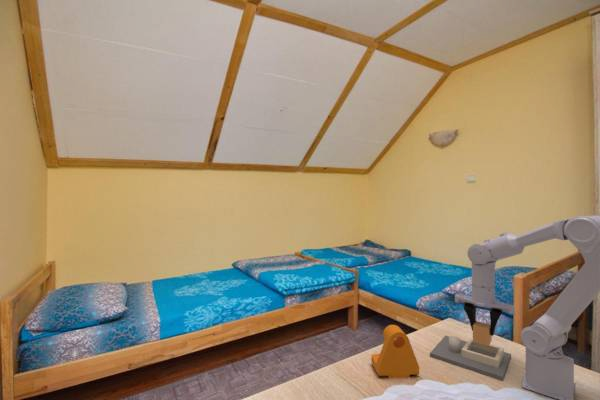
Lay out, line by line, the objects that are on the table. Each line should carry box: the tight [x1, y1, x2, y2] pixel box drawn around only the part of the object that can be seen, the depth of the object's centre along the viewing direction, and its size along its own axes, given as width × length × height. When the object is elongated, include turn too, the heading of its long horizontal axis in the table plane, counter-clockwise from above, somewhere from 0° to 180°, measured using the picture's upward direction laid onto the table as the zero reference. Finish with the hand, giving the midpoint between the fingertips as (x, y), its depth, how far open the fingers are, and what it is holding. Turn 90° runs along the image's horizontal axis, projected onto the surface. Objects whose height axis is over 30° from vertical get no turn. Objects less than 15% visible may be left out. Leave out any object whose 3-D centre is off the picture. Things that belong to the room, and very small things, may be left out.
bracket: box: [371, 324, 420, 379], centre depth 83 cm, size 11×7×12 cm, turn 94°
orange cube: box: [472, 320, 493, 345], centre depth 88 cm, size 4×4×4 cm
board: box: [429, 335, 512, 381], centre depth 90 cm, size 18×15×4 cm
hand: (482, 332), depth 88 cm, fingers closed on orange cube, 4 cm apart
